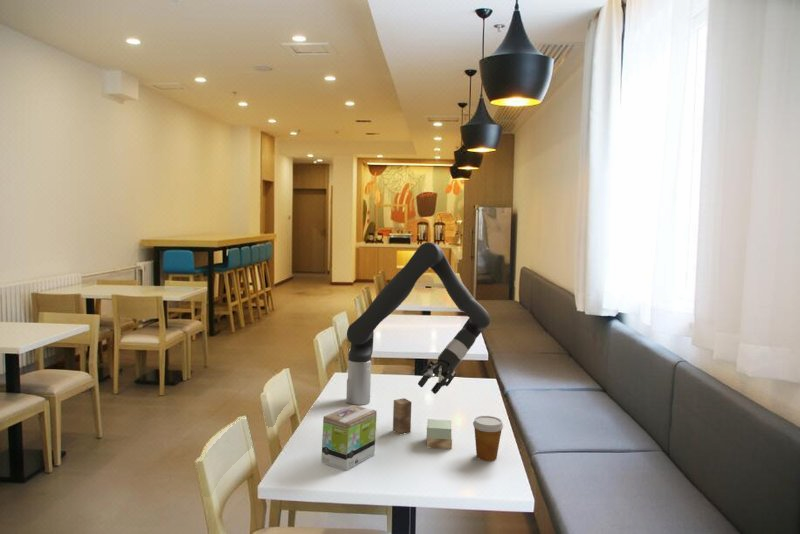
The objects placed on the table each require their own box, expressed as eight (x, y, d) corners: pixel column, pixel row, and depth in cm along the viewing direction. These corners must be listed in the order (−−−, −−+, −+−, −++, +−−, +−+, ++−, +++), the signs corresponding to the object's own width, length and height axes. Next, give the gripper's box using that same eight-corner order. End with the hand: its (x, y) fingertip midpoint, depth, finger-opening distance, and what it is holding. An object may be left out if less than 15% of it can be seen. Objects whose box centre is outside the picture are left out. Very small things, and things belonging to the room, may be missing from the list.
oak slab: (427, 448, 189) (427, 438, 189) (427, 439, 197) (427, 429, 197) (451, 449, 189) (452, 439, 188) (450, 440, 197) (451, 430, 196)
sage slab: (426, 437, 189) (426, 427, 189) (427, 429, 197) (427, 419, 197) (451, 439, 188) (451, 429, 188) (450, 430, 196) (451, 420, 196)
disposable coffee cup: (505, 454, 185) (506, 418, 184) (497, 465, 177) (498, 428, 176) (476, 448, 189) (478, 413, 188) (467, 459, 181) (469, 422, 180)
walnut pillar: (399, 434, 199) (400, 403, 198) (392, 430, 203) (393, 400, 202) (410, 432, 202) (411, 401, 201) (403, 428, 206) (404, 398, 205)
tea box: (347, 472, 169) (348, 423, 168) (320, 463, 175) (321, 416, 173) (376, 455, 182) (377, 409, 181) (350, 447, 187) (351, 403, 186)
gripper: (436, 344, 216) (409, 377, 211) (459, 352, 204) (431, 388, 199) (447, 356, 219) (421, 389, 214) (470, 365, 207) (443, 401, 202)
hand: (426, 389), depth 207 cm, fingers open, 8 cm apart
